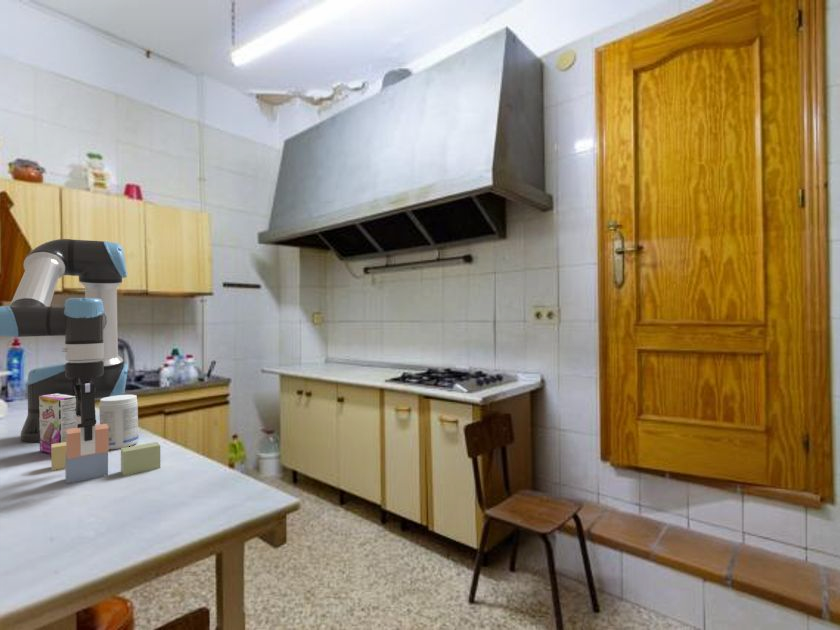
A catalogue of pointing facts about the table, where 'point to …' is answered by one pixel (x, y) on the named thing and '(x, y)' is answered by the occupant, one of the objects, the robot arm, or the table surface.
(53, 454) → the ochre brick
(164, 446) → the table surface
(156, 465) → the olive brick
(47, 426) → the candy bar box
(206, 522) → the table surface
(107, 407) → the supplement tub
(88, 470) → the slate-blue brick
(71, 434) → the terracotta brick
